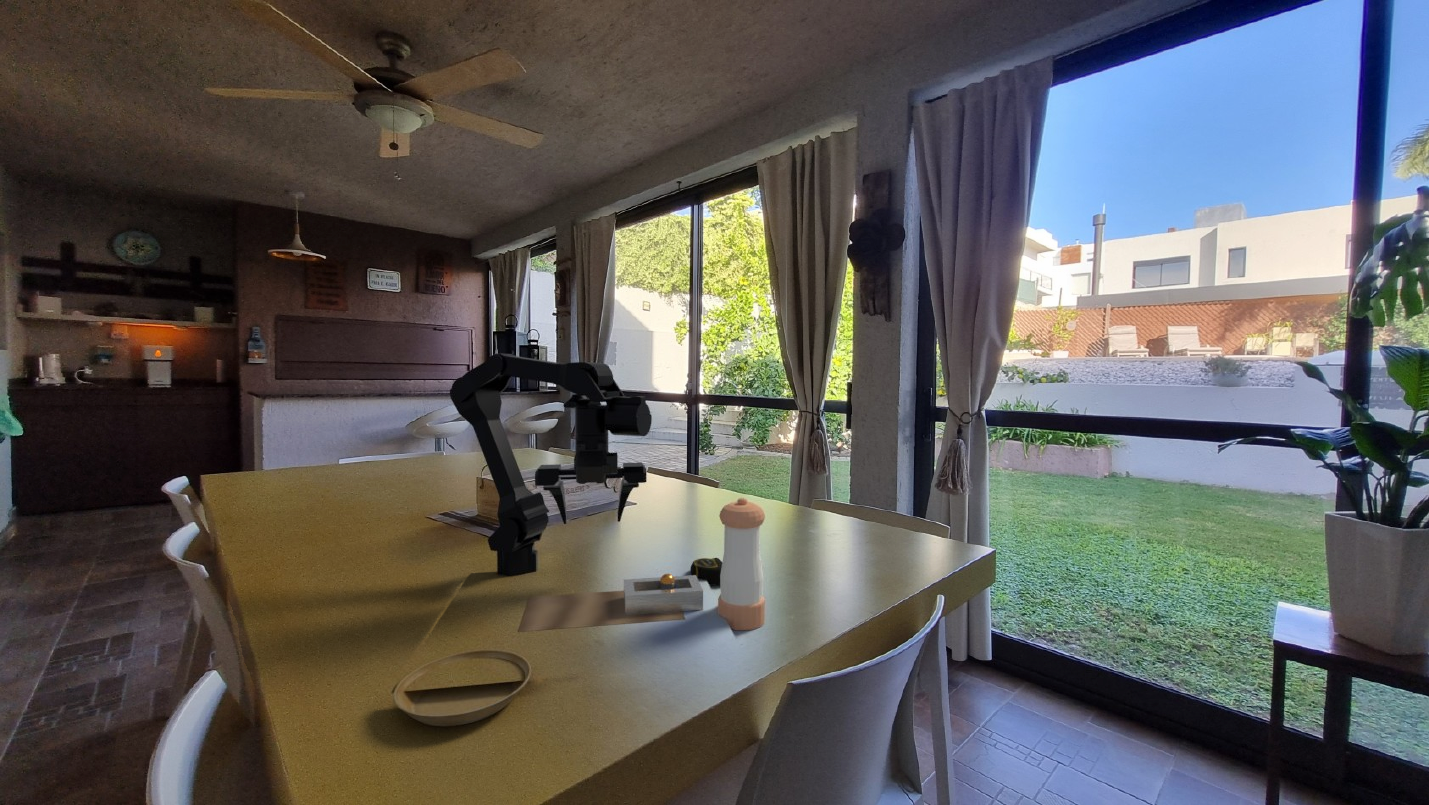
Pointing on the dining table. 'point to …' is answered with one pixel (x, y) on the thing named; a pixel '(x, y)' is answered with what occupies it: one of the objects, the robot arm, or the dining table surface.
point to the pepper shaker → (742, 566)
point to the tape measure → (707, 570)
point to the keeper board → (584, 612)
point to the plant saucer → (459, 693)
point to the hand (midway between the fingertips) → (592, 522)
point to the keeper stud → (667, 582)
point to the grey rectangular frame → (662, 595)
